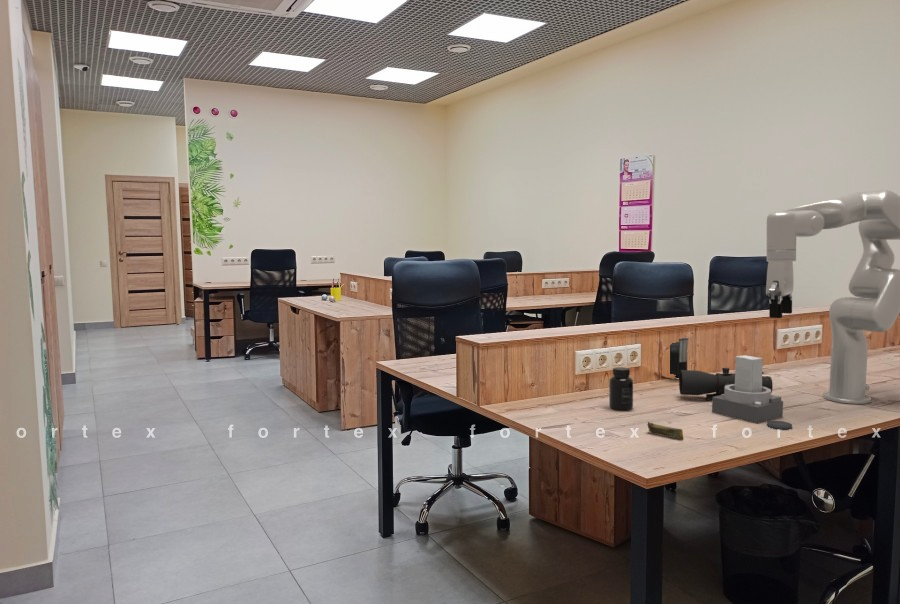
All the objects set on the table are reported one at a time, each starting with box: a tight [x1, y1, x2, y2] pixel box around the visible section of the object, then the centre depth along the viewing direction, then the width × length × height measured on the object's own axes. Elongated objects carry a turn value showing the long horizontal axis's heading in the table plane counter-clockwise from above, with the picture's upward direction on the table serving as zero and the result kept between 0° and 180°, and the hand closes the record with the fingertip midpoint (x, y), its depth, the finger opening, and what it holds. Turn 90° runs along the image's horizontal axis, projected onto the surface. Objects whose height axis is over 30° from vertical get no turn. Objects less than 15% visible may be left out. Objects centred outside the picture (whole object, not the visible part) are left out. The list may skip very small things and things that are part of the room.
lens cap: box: [766, 420, 793, 431], centre depth 174 cm, size 6×6×1 cm
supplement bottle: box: [608, 366, 634, 412], centre depth 193 cm, size 7×7×12 cm
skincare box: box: [734, 354, 764, 393], centre depth 185 cm, size 6×4×12 cm
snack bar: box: [647, 421, 684, 441], centre depth 166 cm, size 10×2×3 cm, turn 43°
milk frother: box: [670, 338, 689, 378], centre depth 234 cm, size 14×16×15 cm
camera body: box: [711, 384, 784, 424], centre depth 186 cm, size 12×14×8 cm
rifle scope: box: [678, 367, 774, 402], centre depth 203 cm, size 10×26×10 cm, turn 78°
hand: (780, 315), depth 188 cm, fingers open, 9 cm apart
